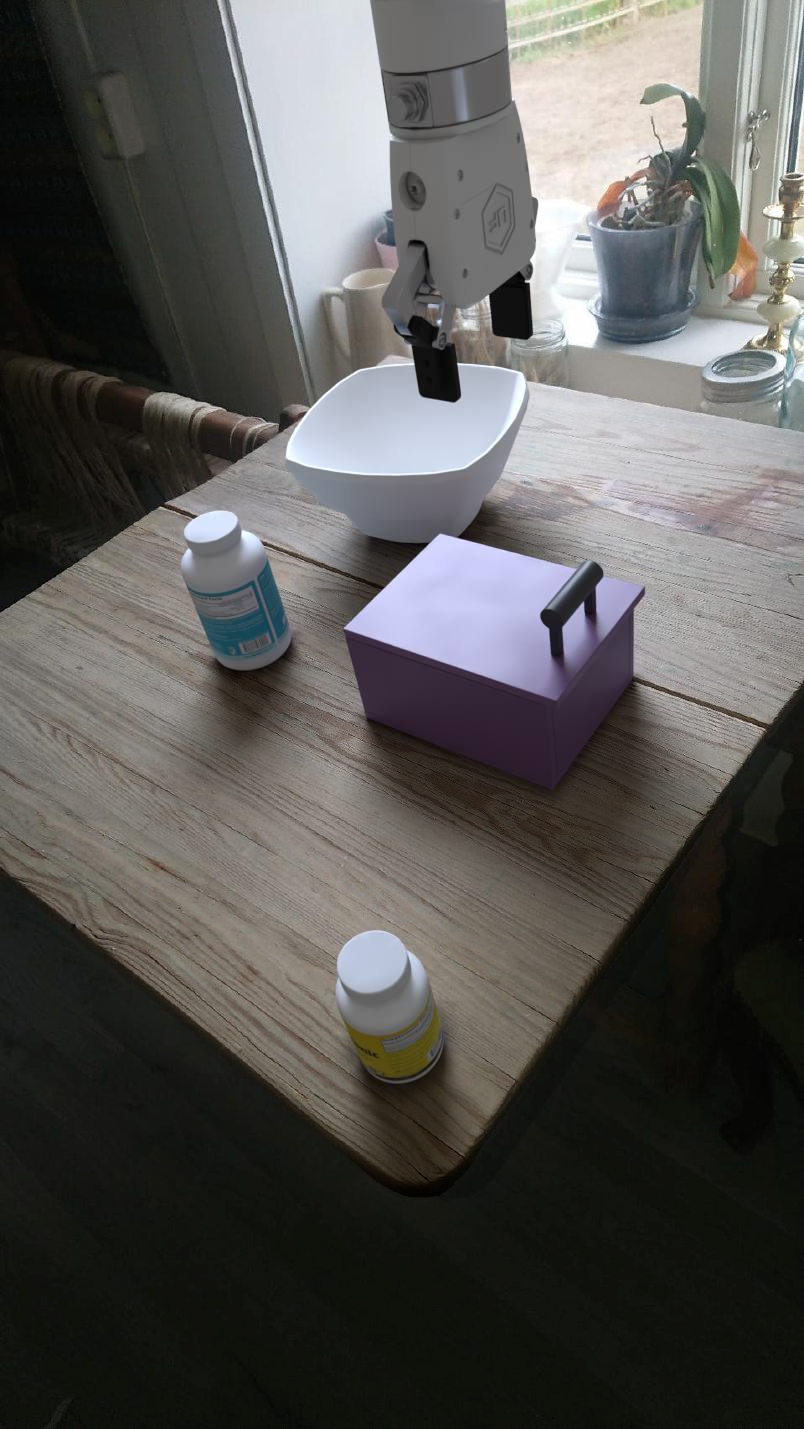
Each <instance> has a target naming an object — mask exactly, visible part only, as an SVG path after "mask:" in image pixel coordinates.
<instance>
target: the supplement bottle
mask: <svg viewBox="0 0 804 1429" xmlns="http://www.w3.org/2000/svg"><path fill="white" fill-rule="evenodd" d="M336 973H337V981H336V985H335V1001H336V1005H337V1009H338V1011H339V1014H340V1016H341V1019H342V1021H343V1022H344V1025H345V1028H346V1031H347V1033H348V1035H349V1037H350V1039H351V1042H352V1044H353V1046H354V1048H355V1051H356V1053H357V1055H358V1056H357V1057H358V1058H359V1060H360V1061H361V1064H362V1065H363V1067H364V1068H365V1069H366V1071H368V1073H369V1074H371V1075H372V1076H373V1077H374V1078H376V1079H378V1080H380V1081H382V1082H384V1083H388V1084H396V1085H397V1084H406V1083H411V1082H414V1081H416V1080H418V1079H420V1078H422V1077H424V1076H425V1075H426V1074H428V1073H429V1072H430V1071H431V1070H432V1069H433V1068H434V1066H436V1064H437V1063H438V1061H439V1059H440V1057H441V1054H442V1052H443V1048H444V1042H445V1036H444V1035H445V1034H444V1029H443V1025H442V1020H441V1018H440V1014H439V1011H438V1008H437V1004H436V1001H435V996H434V994H433V990H432V987H431V983H430V980H429V976H428V974H427V971H426V969H425V967H424V965H423V963H422V962H421V961H420V959H419V958H418V957H417V956H416V955H415V954H414V953H413V952H411V951H409V950H408V949H407V948H406V946H405V944H404V943H403V941H402V940H401V939H400V938H399V937H397V936H396V935H394V934H393V933H391V932H388V931H384V930H367V931H364V932H360V933H359V934H357V935H355V936H353V937H352V938H350V939H349V940H348V941H347V942H346V943H345V944H344V946H343V947H342V948H341V950H340V952H339V954H338V956H337V960H336Z"/></svg>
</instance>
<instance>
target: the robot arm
mask: <svg viewBox="0 0 804 1429" xmlns="http://www.w3.org/2000/svg"><path fill="white" fill-rule="evenodd" d="M369 3H370V10H371V11H370V12H371V16H372V24H373V30H374V36H375V37H374V38H375V43H376V44H375V45H376V50H377V56H378V64H379V68H380V77H381V82H382V89H383V97H384V102H385V110H386V116H387V123H388V130H389V133H390V134H391V135H392V136H390V137H389V182H390V183H389V184H390V199H391V211H392V223H393V224H392V225H393V234H394V242H395V248H396V249H395V250H396V255H397V257H396V258H397V264H398V266H397V268H396V270H395V272H394V274H393V276H392V277H391V280H390V282H389V283H388V285H387V287H386V289H385V291H384V293H383V295H382V298H381V306H382V309H383V310H384V312H385V314H386V315H387V317H388V319H389V320H390V322H391V323H392V326H393V330H394V332H395V334H397V335H398V336H400V337H401V338H402V339H403V342H404V343H405V345H407V346H410V347H411V352H412V359H413V363H414V365H415V371H416V378H417V384H418V390H419V394H420V395H421V396H422V397H424V398H429V399H435V400H440V401H446V402H451V403H455V402H457V401H458V400H459V399H460V398H461V388H460V380H459V372H458V364H457V363H458V357H457V350H456V349H457V348H456V344H455V342H449V337H450V334H451V330H452V326H453V321H454V318H455V315H456V311H457V310H456V309H458V310H468V309H470V308H473V307H474V306H476V305H477V304H479V303H481V301H483V300H484V299H485V298H486V297H488V301H489V313H490V322H491V331H492V335H494V336H495V337H499V338H507V339H514V340H521V341H527V340H529V339H531V338H532V337H533V335H534V324H533V311H532V310H533V309H532V294H531V283H530V282H528V281H530V280H531V279H532V277H533V274H534V266H533V263H532V261H531V260H532V258H533V257H534V254H535V251H536V247H537V246H536V245H537V237H536V236H537V235H536V224H537V216H538V211H539V200H538V199H537V198H536V197H534V196H533V193H532V192H533V191H532V185H531V177H530V170H529V162H528V154H527V149H526V142H525V137H524V133H523V132H524V131H523V127H522V124H521V120H520V114H519V110H518V108H517V103H516V101H515V98H513V94H512V80H511V67H510V54H509V52H510V51H509V35H508V23H507V22H508V21H507V7H506V0H369ZM437 292H438V293H439V294H436V293H437ZM429 308H430V309H437V312H436V317H435V321H434V325H433V324H432V323H430V321H428V320H427V319H426V315H427V311H428V309H429Z"/></svg>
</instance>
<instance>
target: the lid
mask: <svg viewBox="0 0 804 1429" xmlns="http://www.w3.org/2000/svg"><path fill="white" fill-rule="evenodd" d="M645 596H646V586H644V585H641V584H637V583H633V582H629V581H626V580H621V579H617V578H613V577H610V576H606V575H604V570H603V567H602V566H601V565H600V564H599V563H598V562H596V561H594V560H584V561H582V562H581V564H580V565H579V566H578V567H577V568H575V567H572V566H567V565H564V564H560V563H555V562H551V561H548V560H544V559H540V558H536V557H532V556H528V555H525V554H521V553H518V552H513V551H510V550H505V549H502V548H497V547H493V546H490V545H487V544H482V543H478V542H474V541H470V540H467V539H463V538H459V537H456V538H455V537H452V536H448V535H444V534H439V535H438V536H437V537H436V538H435V539H434V540H433V541H432V542H430V543H428V545H426V547H424V548H423V549H422V550H421V551H420V552H419V553H418V554H417V555H416V556H415V557H414V558H413V559H412V560H411V561H410V562H409V563H408V564H407V565H406V566H405V567H404V568H403V569H402V570H401V571H400V572H399V573H398V574H397V575H396V576H395V577H394V578H393V579H392V580H391V581H390V582H389V583H388V584H387V585H386V586H385V587H384V588H383V589H382V590H380V592H379V593H377V595H376V596H375V597H374V598H373V599H372V600H370V601H369V603H368V604H366V605H365V607H364V608H362V609H361V611H359V612H358V613H357V614H356V616H354V617H353V618H352V619H351V620H350V621H349V622H348V623H347V624H346V625H345V626H344V627H343V628H342V631H343V634H344V637H345V638H346V637H348V638H351V639H354V640H357V641H360V642H362V643H365V644H368V645H371V646H374V647H377V648H380V649H383V650H386V651H389V652H392V653H394V654H397V655H400V656H403V657H406V658H409V659H412V660H415V661H418V662H421V663H424V664H427V665H429V666H432V667H435V668H438V669H441V670H444V671H447V672H450V673H453V674H456V675H459V676H461V677H464V678H467V679H470V680H473V681H476V682H479V683H482V684H485V685H488V686H491V687H493V688H496V689H499V690H502V691H505V692H508V693H511V694H514V695H517V696H520V697H523V698H525V699H528V700H531V701H534V702H537V703H540V704H543V705H546V706H549V707H552V708H555V709H558V708H559V706H560V705H561V704H562V702H563V701H564V700H565V699H566V697H567V696H568V695H569V693H570V692H571V691H572V689H573V688H574V687H575V685H576V684H577V683H578V682H579V680H580V679H581V678H582V676H583V675H584V674H585V672H586V671H587V670H588V668H589V667H590V666H591V665H592V663H593V662H594V661H595V659H596V658H597V657H598V655H599V654H600V653H601V651H602V650H603V649H604V648H605V646H606V645H607V644H608V642H609V641H610V640H611V638H612V637H613V636H614V634H615V633H616V632H617V631H618V629H619V628H620V627H621V625H622V624H623V623H624V621H625V620H626V619H627V617H628V616H629V615H630V614H631V612H632V611H633V610H634V611H635V608H636V607H637V606H638V604H639V603H640V602H641V601H642V599H643V598H644V597H645Z"/></svg>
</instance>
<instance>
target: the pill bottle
mask: <svg viewBox="0 0 804 1429" xmlns="http://www.w3.org/2000/svg"><path fill="white" fill-rule="evenodd" d="M183 537H184V540H185V542H186V545H187V549H186V551H185V552H184V554H183V556H182V558H181V563H180V573H181V576H182V579H183V581H184V583H185V586H186V588H187V591H188V593H189V595H190V596H189V597H190V598H191V601H192V603H193V606H194V608H195V610H196V613H197V615H198V618H199V620H200V623H201V625H202V627H203V630H204V633H205V635H206V638H207V640H208V642H209V645H210V647H211V649H212V652H213V654H214V657H215V658H216V660H217V662H219V663H220V664H221V665H222V666H224V667H226V668H228V669H231V670H234V671H252V670H256V669H260V668H264V667H266V666H268V665H271V664H272V663H274V662H276V661H277V660H279V658H280V657H282V656H283V655H284V654H285V652H286V651H287V650H288V648H289V646H290V644H291V641H292V629H291V625H290V622H289V618H288V616H287V613H286V610H285V607H284V604H283V600H282V598H281V595H280V591H279V589H278V586H277V583H276V579H275V576H274V574H273V573H274V572H273V570H272V567H271V564H270V561H269V558H268V555H267V552H266V549H265V546H264V544H263V542H262V541H261V540H260V539H259V538H258V537H257V536H256V535H254V534H253V533H251V532H250V531H246V530H244V529H242V526H241V524H240V521H239V518H238V517H237V515H236V514H235V513H233V512H231V511H228V510H213V511H209V512H205V513H203V514H200V515H197V517H194V518H193V519H192V520H190V521H189V522H188V523H187V524H186V526H185V527H184V529H183Z"/></svg>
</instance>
